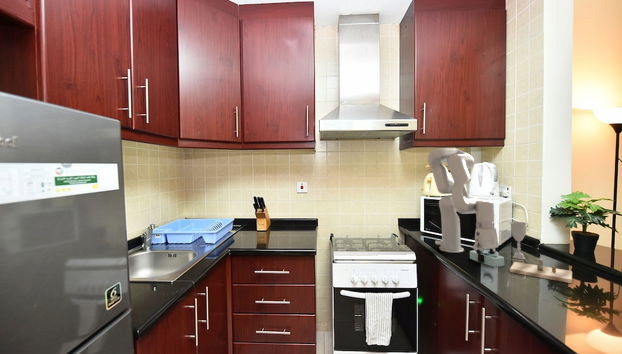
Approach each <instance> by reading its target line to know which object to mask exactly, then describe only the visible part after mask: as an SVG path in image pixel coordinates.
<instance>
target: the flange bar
mask: <svg viewBox="0 0 622 354" xmlns="http://www.w3.org/2000/svg"><path fill="white" fill-rule="evenodd" d="M480 251H481V249H480ZM488 252H489V251H485V250H484V252H483V255H484V263H482V262H479V261H478V254H477V253H476V251H475V250H474V249H473V250H469V259H470V260H472V261H475V262H477V263H481V264H484V265H488V266H490V267H492V268H499V267H505V257H504V256H501V255H498V254H496V253H495V254H491V253H488Z"/></svg>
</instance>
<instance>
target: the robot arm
mask: <svg viewBox="0 0 622 354" xmlns="http://www.w3.org/2000/svg"><path fill="white" fill-rule="evenodd" d="M427 162H428V166H429V169H430V171H431V173H432V174H433V179H434V182H435V185H436V186H435V187H436V189H437V191H438V192H439V194H442V195H444V196H442V197H441V198H440V199H439V201H438V207H439V210H440V216H441V218H440V219H441V240H435V242H434V243H435V245H439V250H440V251H442V252H446V253H458V254H459V253H462V252H465V249H464V248H463V247H462V246H461V244H462V243H461V222H460V221H461V219H460V216H459V215H458V213H459V214H462V215H465V214H466V215H468V214H475V215H476V217H475V218H476V219H475V221H476V223H475V226H476V227H475V231H474V232H475V233H474V244H473V245H472V249H473V251H474V250H475V251H476V253H477V254H478V261H479V262H478V261H477V262H478V263H481V262H482V263H481V264H484V255H483V252H484V251H485V250H488V251H487V252H488V253H491V254H495V255H496V252H497V250H498V248H499V246H500V244H499V240H498V233H497V228H496V227H495V212H494V211H495V205H494V202H493V201H492V200H488V199H486V200H485V199H481V198H471V197H470V195H469V193H468V190H467V187H466V185H467V184H469V183H470V182H472V176H471V174H470V172H469V170H470V169H472V168H473V167H474V165H475V160H474V157H473V156H472V155H470V154H469V153H467V152H464V151H463V150H461V149H458V148H456V147H454V148H453V147H446V148H445V147H444V148H443V147H441V148H434V149H432V150H431V151H429V153H428V155H427ZM443 163H447V167H448V169H449V170H448V169H447V167H446V166H445V164H443ZM449 172H450V173H449ZM450 174H451V175H450ZM457 212H458V213H457ZM480 250H481V251H480Z"/></svg>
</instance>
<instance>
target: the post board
mask: <svg viewBox="0 0 622 354" xmlns="http://www.w3.org/2000/svg"><path fill="white" fill-rule="evenodd" d="M509 272H510V273H514V274H520V275H525V276H529V277H535V278H540V279H547V280H552V281H558V282H561V283H562V282H564V283H567V284H569V283H570V284H572V283H573V281H572V280H573V271H572V270H567V269H561V268H557V267H556V266H555V265H552V266H545V265H544V259H542V258H537V259H536V264H531V263H524V262H518V261H513V264H512V265H511V266H510V268H509Z"/></svg>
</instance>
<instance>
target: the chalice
mask: <svg viewBox="0 0 622 354" xmlns="http://www.w3.org/2000/svg"><path fill="white" fill-rule="evenodd" d="M509 224H510V233H511V235H512V237H513V238H514V240H515V241H517V242H516V246H517V247H516V249H517V252H515V253H514V255H513V257H512V258H513V259H517V260H525V259H526V257H525V255H524V254H523V253H522V252H521V250H522V248H521V241H523V239H524V238H525V236H526V234H527V231H526V230H527V224H528V223H527V222H525V221H524V222H522V221H510V222H509Z"/></svg>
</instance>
